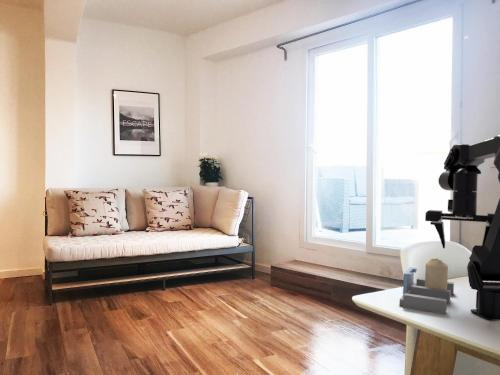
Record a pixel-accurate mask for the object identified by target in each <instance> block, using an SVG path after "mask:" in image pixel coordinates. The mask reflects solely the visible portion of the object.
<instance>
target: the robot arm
mask: <svg viewBox="0 0 500 375" xmlns="http://www.w3.org/2000/svg"><path fill="white" fill-rule="evenodd" d="M492 158H494V160H493V165H494V167H495V168H496V169H497V171H498V173H497V174H498V175H497V180H498V182H499V183H500V134H499V135H496V136H494V137H493V138H489V139H486V140H482V141H479V142H476V143H473V144H472V143H471V144H470V143H467V144H466V143H455V144H453V145H452V147H451V148H450V149H449V151H448V154H447V156H446V158H445V160H444V163H443V165H444V167H443V169H444V170H445V171H442V173H441V174H440V175H439V177H438V180H437V182H438V185H439V186H440V187H441V189H443V191H450V192H452V199H448V200H447V213H446V212H443V210H439V209H438V210H437V209H436V210H435V209H428V210H426V212H425V214H424V216H425V219H424V220H425V222H430V225H433V226H434V227H435V230H436V231H437V234H438V237H439V240H440V243H441V246H442V248H443V249H446V237H445V236H446V235H445V227H444V221H457V222H458V221H459V222H461V221H462V222H476V223H479V222H480V223H486V224H485V226H484V230H483V231H484V232H483V238H482V244H481V245H479V244H478V245H477V244H476V245H474V246H473V247H472V250H471V253H470V256H469V258H468V260H469V261H468V263H467V266H466V269H467V270H466V271H467V279H468V283H469V287H470V289H471V290H476V293H475V294H476V296H475V298H476V299H475V308H471V309H470V312H471V313H473V314H475V315H477V316H479V317H481V318H484V319H486V320H489V321H500V198H499V199H498V202H497V204H496V208H495V211H494V212H487V213H486V214H485V215H484V214H477V212H478V211H477V206H478V205H477V201H478V178H479V177H478V176H479V175H482V171H481V169H480V168H478V167H479V166H480V165H483V164H484V163H485V160H486V159H487V160H488V159H492ZM448 212H449V213H448ZM443 220H444V221H443Z"/></svg>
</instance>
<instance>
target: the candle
mask: <svg viewBox="0 0 500 375" xmlns="http://www.w3.org/2000/svg"><path fill="white" fill-rule="evenodd" d="M424 272H425V274H424V275H425V276H424V279H425V287H430V288H438V289H445V290H447V282H448V278H449V277H448V275H449V274H448V273H449V265H448V264H447V263H446V262H444V260H441V259H439V258H431V259H430V260H428V261H427V262H426V263H425V271H424Z"/></svg>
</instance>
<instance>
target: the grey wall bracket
mask: <svg viewBox="0 0 500 375" xmlns="http://www.w3.org/2000/svg"><path fill="white" fill-rule="evenodd" d="M417 270H418V269H417V267H412V266H411V267H409V268H408V269H407V270H405V272H404V273H403V283H402V284H403V285H402V287H403V288H402V296H401V297H400V298H399V306H400V307H402V308H406V309H413V310H417V311H418V310H419V311H424V312H430V313H436V314H444V315H446V313H447V304H450V303H451V296H452V295H454V292H455V291H454V290H455V282H451V281H447V290H445V289H438V288H430V287H425V278H422V277H417V278H416V283H414V280H415V279H414V274H415V273H417V272H418V271H417ZM450 294H451V295H450Z"/></svg>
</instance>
